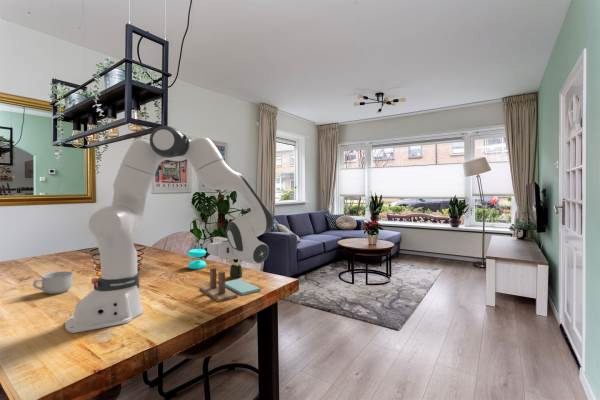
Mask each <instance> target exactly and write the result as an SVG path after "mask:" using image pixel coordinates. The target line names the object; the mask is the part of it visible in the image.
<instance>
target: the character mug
mask: <svg viewBox="0 0 600 400" xmlns="http://www.w3.org/2000/svg"><path fill="white" fill-rule="evenodd" d="M243 262H244V261H243V260H239V259H225V263H226V264H227V263H228V264H229V265H230V271H229V276H230V277H231V278H239V277H242V276H243V269H242V264H243Z"/></svg>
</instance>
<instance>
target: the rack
mask: <svg viewBox="0 0 600 400" xmlns="http://www.w3.org/2000/svg"><path fill="white" fill-rule="evenodd" d="M209 276H210V277H209V284H207V285H206V284H205V285H203V286H202V285H201V286H199V290H200V291H201V292H203V293H205V294H206V295H208V296H209V297H211V298H212V299H214V300H215V301H217V302H218V303H221V302H224V301H228V300H232V299H233V300H234V299H237V298H238V293H236V292H235V291H233V290H231V289H229V288H227V287H225V282H226V272H225V271H222V270H221V271H218V283H217V268H216V267H214V266H213V267H209Z"/></svg>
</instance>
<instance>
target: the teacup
mask: <svg viewBox="0 0 600 400" xmlns="http://www.w3.org/2000/svg"><path fill="white" fill-rule="evenodd" d="M73 275H74V272H73V271H68V270H60V271H52V272H47V273H43V275H41V278H37V279H35V280H33V282H32V286H33V288H34V289H37V290H39V291H41V292H44V293H46V294H49V295H57V294H63V293H65V292H67V291H68V290H69V289H71V288H72V285H73V280H74V279H73V278H74V277H73ZM38 282H40V283H41V287H40V286H38V285H37V284H38Z"/></svg>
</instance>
